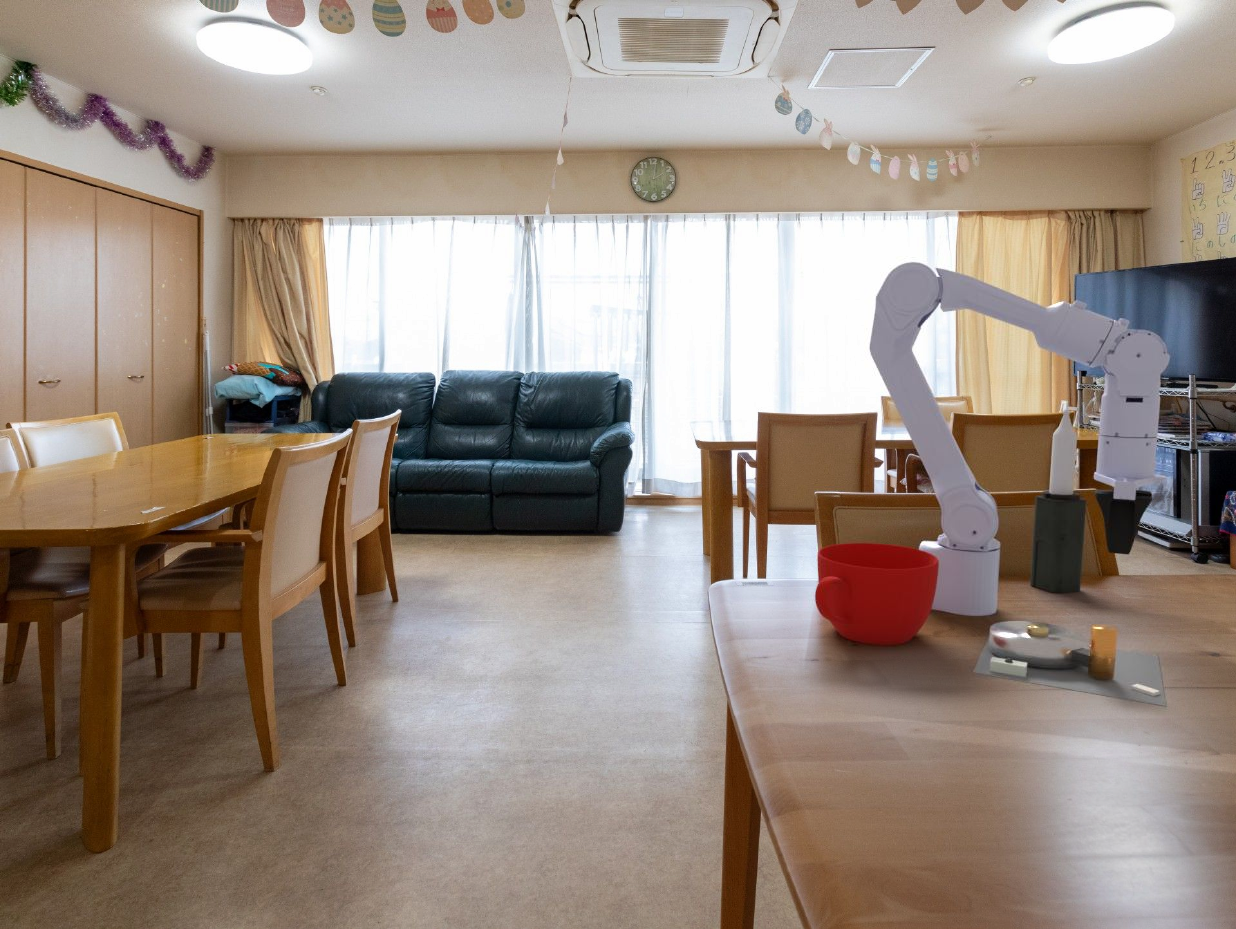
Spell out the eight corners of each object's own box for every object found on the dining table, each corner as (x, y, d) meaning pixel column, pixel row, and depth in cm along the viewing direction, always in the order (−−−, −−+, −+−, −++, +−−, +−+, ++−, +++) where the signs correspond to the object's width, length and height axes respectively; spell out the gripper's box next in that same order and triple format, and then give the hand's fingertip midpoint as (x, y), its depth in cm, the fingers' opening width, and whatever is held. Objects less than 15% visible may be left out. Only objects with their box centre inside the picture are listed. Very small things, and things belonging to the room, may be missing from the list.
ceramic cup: (768, 646, 93) (770, 558, 92) (857, 617, 104) (860, 538, 102) (870, 680, 83) (874, 582, 82) (957, 644, 94) (961, 556, 93)
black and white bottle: (1026, 584, 119) (1037, 408, 116) (1054, 581, 121) (1066, 408, 118) (1054, 593, 114) (1066, 410, 111) (1084, 590, 116) (1097, 410, 113)
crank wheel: (970, 646, 89) (972, 603, 89) (1026, 634, 93) (1029, 592, 93) (1081, 686, 78) (1085, 638, 77) (1140, 670, 82) (1144, 624, 82)
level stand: (972, 682, 83) (973, 659, 82) (990, 639, 95) (992, 619, 95) (1165, 716, 75) (1167, 691, 74) (1157, 664, 87) (1159, 642, 87)
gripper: (1173, 442, 87) (1162, 570, 89) (1165, 432, 100) (1156, 544, 101) (1095, 439, 91) (1087, 562, 93) (1097, 430, 103) (1090, 538, 105)
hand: (1118, 552), depth 97 cm, fingers closed
